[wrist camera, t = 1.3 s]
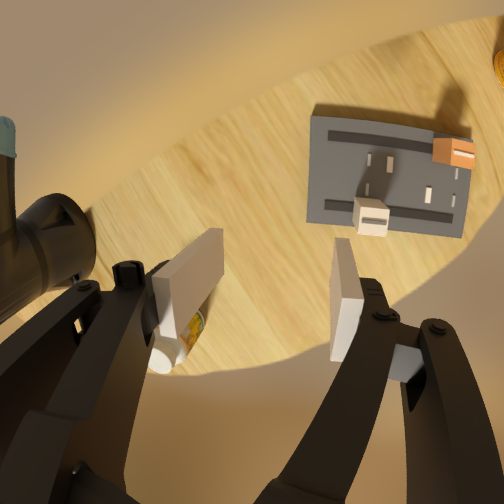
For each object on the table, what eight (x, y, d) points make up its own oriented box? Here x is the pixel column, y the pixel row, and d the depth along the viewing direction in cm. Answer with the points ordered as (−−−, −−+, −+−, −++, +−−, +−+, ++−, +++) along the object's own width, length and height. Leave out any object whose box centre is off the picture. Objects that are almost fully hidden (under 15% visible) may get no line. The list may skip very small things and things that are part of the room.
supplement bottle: (181, 294, 39) (146, 334, 31) (213, 319, 40) (185, 364, 31) (164, 317, 42) (130, 357, 33) (193, 340, 42) (165, 384, 33)
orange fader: (432, 161, 25) (451, 165, 21) (433, 138, 24) (453, 138, 20) (453, 165, 25) (474, 170, 20) (454, 142, 24) (476, 143, 19)
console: (306, 219, 32) (306, 223, 31) (310, 117, 28) (310, 115, 27) (456, 234, 29) (462, 239, 27) (467, 139, 25) (474, 140, 23)
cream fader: (352, 220, 29) (358, 234, 25) (354, 196, 28) (361, 207, 24) (376, 222, 29) (386, 237, 24) (379, 199, 28) (390, 210, 23)
